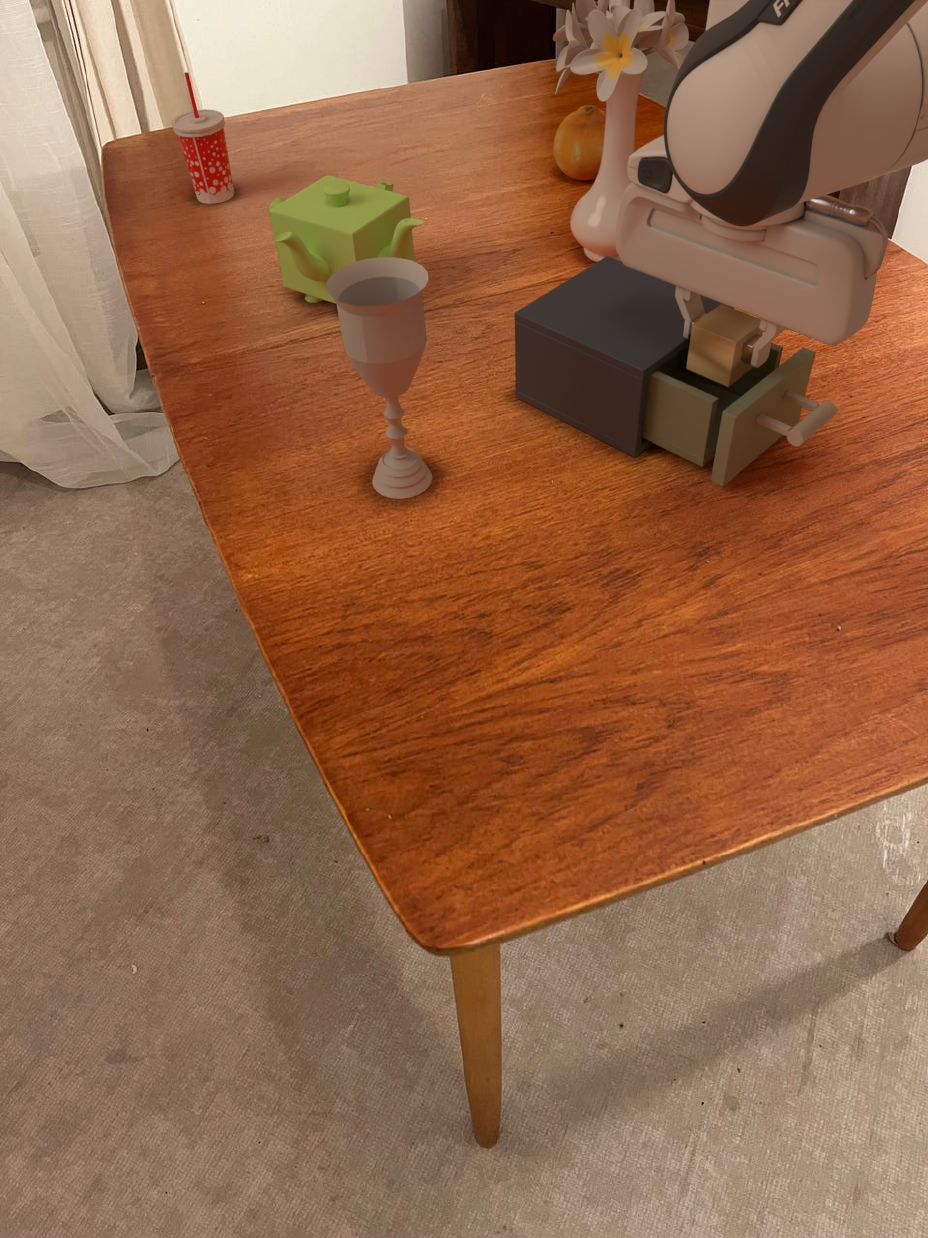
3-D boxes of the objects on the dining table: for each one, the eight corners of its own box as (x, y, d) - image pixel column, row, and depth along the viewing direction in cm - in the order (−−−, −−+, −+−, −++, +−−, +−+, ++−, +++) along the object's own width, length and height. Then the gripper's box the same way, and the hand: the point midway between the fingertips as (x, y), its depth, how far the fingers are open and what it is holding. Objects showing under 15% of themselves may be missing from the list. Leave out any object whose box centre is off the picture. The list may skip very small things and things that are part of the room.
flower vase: (642, 205, 114) (663, -48, 96) (690, 283, 102) (725, 10, 83) (532, 218, 113) (532, -35, 95) (567, 298, 101) (575, 26, 82)
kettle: (432, 317, 100) (422, 209, 91) (293, 340, 98) (271, 233, 90) (405, 249, 110) (394, 145, 101) (279, 269, 108) (258, 166, 100)
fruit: (587, 178, 114) (607, 103, 111) (533, 167, 118) (550, 95, 116) (622, 192, 120) (642, 122, 118) (569, 182, 125) (587, 113, 122)
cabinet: (720, 391, 89) (735, 304, 82) (635, 458, 83) (643, 370, 77) (601, 339, 95) (607, 255, 89) (515, 397, 90) (514, 312, 83)
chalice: (367, 513, 80) (335, 314, 66) (352, 463, 84) (318, 267, 71) (454, 494, 81) (439, 294, 68) (434, 446, 85) (416, 249, 72)
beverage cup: (246, 184, 123) (219, 62, 113) (233, 206, 119) (204, 82, 109) (199, 184, 124) (168, 63, 113) (184, 206, 120) (151, 83, 109)
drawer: (843, 441, 82) (864, 370, 77) (768, 510, 76) (785, 439, 71) (678, 368, 90) (687, 300, 85) (600, 426, 85) (604, 357, 80)
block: (756, 365, 79) (765, 320, 76) (728, 387, 77) (736, 342, 74) (714, 347, 81) (721, 303, 78) (685, 368, 79) (692, 324, 76)
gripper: (918, 198, 64) (864, 379, 74) (661, 123, 74) (645, 292, 84) (869, 235, 61) (820, 418, 71) (609, 151, 71) (599, 322, 81)
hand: (724, 349), depth 78 cm, fingers closed on block, 4 cm apart
